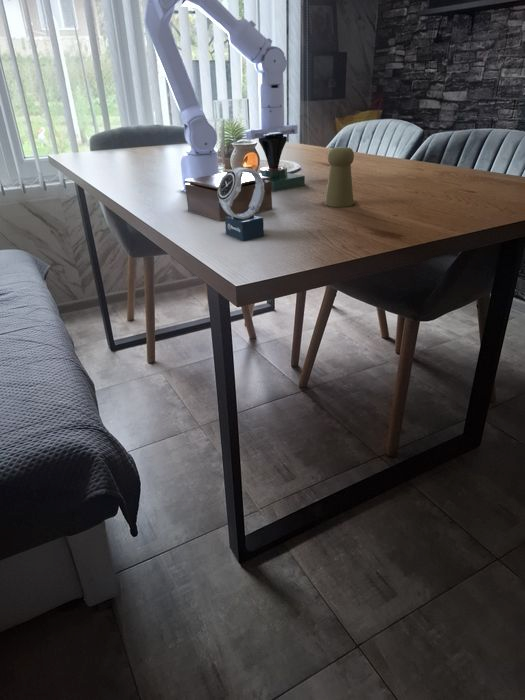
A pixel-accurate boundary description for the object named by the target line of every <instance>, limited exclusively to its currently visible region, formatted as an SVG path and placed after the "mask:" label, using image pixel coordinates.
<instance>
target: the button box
mask: <svg viewBox="0 0 525 700" xmlns="http://www.w3.org/2000/svg"><path fill="white" fill-rule="evenodd" d="M278 167H280V168H281V169H278V170H266V168H269V166H264V167H261V168H260V169H259V172H258V173H259V174H260V175H261V176H267V177H271V179H269V180H266V181H271V190H272V192H278V191H282V190H286V189H291V188H295V187H300V186H305V185H306V181H305V180H306V179H305V178H306V176H305V175H302V174H295V173H290V172H288V168H287V166H281V165H279V166H278Z"/></svg>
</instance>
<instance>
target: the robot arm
mask: <svg viewBox="0 0 525 700" xmlns="http://www.w3.org/2000/svg"><path fill="white" fill-rule="evenodd" d="M180 1H181V0H146V3H145V12H144V19H143V21H144V26H145V29H146V32H147V35H148V37H149V40H150V42H151V44H152V47H153V49H154V51H155V54H156V56H157V59H158V62H159V64H160V67H161V69H162V71H163V75H164V76H165V78H166V81H167V85H168V86H169V89H170V92H171V93H172V96H173V99H174V101H175V104H176V106H177V108H178V111H179V114H180V118H181V122H182V124H183V129H184V130H183V131H184V133H183V134H184V139H185V142H186V143H187V145H188V147H187V149H186V150H185V152H186V153H184V154H183V155H182V157H181V159H180V172H181V179H182V188H180V189H179V191H180V192H185V193H186V189H185V184H187V183H188V182H185V180H186V179H192V178H198V177H204V176H210V175H214V174H220V171H219V157H218V149H217V148H215V147H216V146H217V142H218V135H217V131H216V129H215V128H214V126H213V125H211V124H210V122H209V121H208V120H207V119H208V118H207V117H206V113H205V112H204V110H203V109H202V107H201V105H200V102H199V100H198V97H197V94H196V92H195V89H194V87H193V84H192V82H191V79H190V76H189V74H188V71H187V68H186V66H185V63H184V61H183V58H182V55H181V52H180V49H179V46H178V44H177V41H176V39H175V37H174V34H173V32H172V29H171V26H170V23H171V21H172V19H173V15H174V12H175V8H176V6H177V5H178V3H180ZM181 7H188V8H196V9H198V10H199V11H200V12H201V13H202V14H204V15H205V16H206V17H207V18H209V20H211V21H212V22H213V23H214V24H216V26H217V27H219V28H220V29H222V30H223V31H224V32H225V33H226V34H227V35H228V42H229V45H230V46H232V48H234V49H235V50H236V51H237V53H239V54H241V55H242V56H243V57H244V58H245V59H246V60H247V61H248V62H249V63H251V64H252V65H254V68H255V71H256V72H257V74H258V97H259V123H260V125H259V127H257V128H253V129H247V130H245V138H246V140H255V139H258V143H259V144H260V146H261V148H262V150H263V152H264V156H265V158H266V160H267V161H266V162H267V165H268V166H267V167H269V168H272V169H276V168H278V166H280V160H281V157H282V153H283V150H284V147H285V145H286V143H287V142H288V136H287V135H297V134H298V133H299V131H298V130H299V129H298V128H299V127H298V124H286V125H285V85H284V72H285V71H286V69H287V66H288V60H287V58H286V55H285V52H284V51H283V49H282V48H280V47H279V46H274V45H272V43H273V40H272V39H271V38H270V37H268V38H267V37H265V36H264V35H263V34H262V33H261V32H260V31H259V30H258V29H257V28H256V26H257V24H256V23H255V21H253V20H249V21H248V19H246V18H241V19H237V18H236V17H235V16H234V15H233V14H232V13H231V12H230V11H229V9H227V8H226V7H225V6H224V5H223V4H222V3H221V2H220V1H219V0H182V2H181Z"/></svg>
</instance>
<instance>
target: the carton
mask: <svg viewBox="0 0 525 700" xmlns="http://www.w3.org/2000/svg"><path fill="white" fill-rule="evenodd" d="M221 179H222V177H217V176H212V175H210V176H204V177H198V178H192V179H186V180H185V182H188V183H187V184H185V189H186V192H185V197H186V205H187V212H190V213H192V214H196V215H199V216H201V217H205V218H210V219H212V220H215V221H218V222H223V221H225V216H229V214H227V213H226V212H225V211H224V210H223V208H222V206H221V203H220V201H219V198H218V194H217V191H218V185H219V183H220V180H221ZM263 182H264V190H265V192H264V197H263V201H262V203H261V206H260V208H259V210H258V212H256V213H255V214H257V213H259V212H260V213H261V212H264V211H268V210H272V209H273V195H272V193H273V191H272V190H271V181H266V180H264V181H263ZM255 185H256V182H253V183H247V184H245V182H242V181H241V191H240V192H239V194H238V195H237V196H236V198H235V199H234V200H233V203H232V206H231V207H230V208H231V210H232V212H233V213H234V214H238V213H243V212H246V211H248V209H249V204H250V202H251V200H252V197H253V193H254V189H255Z"/></svg>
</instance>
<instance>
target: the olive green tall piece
mask: <svg viewBox="0 0 525 700" xmlns="http://www.w3.org/2000/svg"><path fill="white" fill-rule="evenodd" d="M327 153H328V154H327V162H328V164H329V165H330V166H329V172H328V178H327V186H326V191H325V198H324V205H325V206H327V207H333V208H344V207H351V206H353V205H354V190H353V179H352V164H353V162H354V159H355V153H354V151H353V149H352V148H350V147H347V146H336V147H333V148H330V149H329V150H328V152H327Z"/></svg>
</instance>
